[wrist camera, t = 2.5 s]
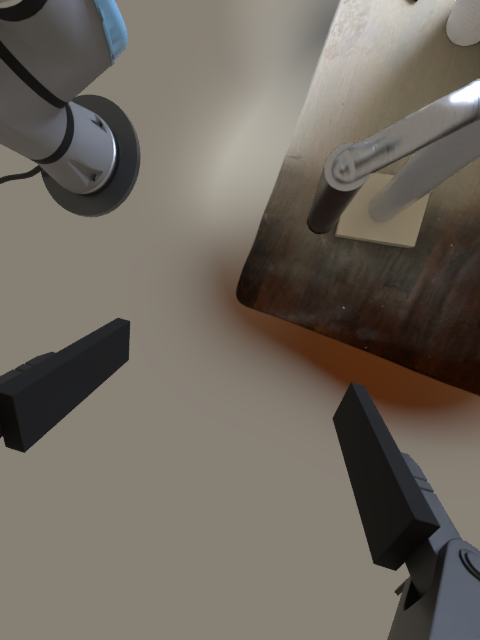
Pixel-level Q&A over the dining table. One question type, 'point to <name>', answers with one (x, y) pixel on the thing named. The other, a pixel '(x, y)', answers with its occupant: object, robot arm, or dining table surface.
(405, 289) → the dining table surface
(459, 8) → the cup
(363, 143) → the bent metal pipe
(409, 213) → the faucet base
